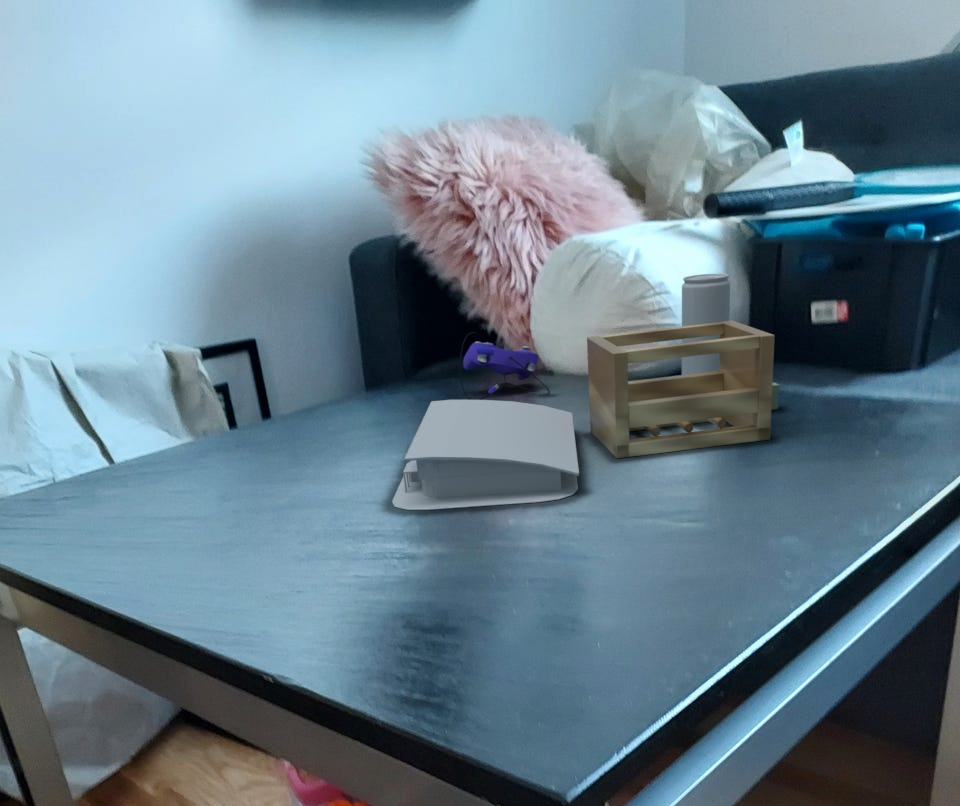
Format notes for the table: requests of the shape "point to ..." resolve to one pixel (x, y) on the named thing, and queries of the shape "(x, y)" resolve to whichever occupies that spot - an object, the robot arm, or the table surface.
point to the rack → (681, 389)
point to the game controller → (500, 362)
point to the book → (489, 456)
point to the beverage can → (704, 314)
